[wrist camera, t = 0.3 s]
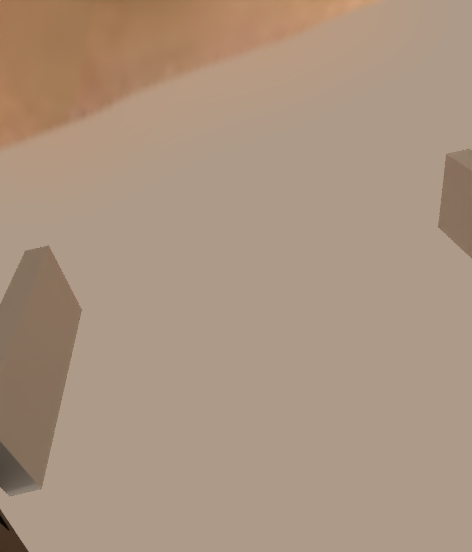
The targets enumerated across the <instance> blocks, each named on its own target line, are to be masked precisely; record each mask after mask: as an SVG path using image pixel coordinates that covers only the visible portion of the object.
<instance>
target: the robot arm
mask: <svg viewBox="0 0 472 552" xmlns="http://www.w3.org/2000/svg"><path fill="white" fill-rule="evenodd" d="M438 227H439V228H440V229H441V230H442V231H443V232H444V233H445V234H446V235H447V236H448V237H449V238H451V239H452V240H453V241H454V242H455V243H456V244H457V245H458V246H459V247H460V248H461V249H462V250H463V251H464V252H466V253H467V254H468V255H469V256H470V257H471V258H472V150H470V149H466V150H462V151H458V152H453V153H449V154H446V161H445V171H444V180H443V188H442V198H441V207H440V216H439V225H438ZM81 311H82V309H81V307H80V305H79V303H78V301H77V299H76V298H75V296H74V294H73V292H72V290H71V288H70V286H69V284H68V282H67V280H66V278H65V276H64V274H63V272H62V270H61V268H60V266H59V265H58V263H57V261H56V259H55V257H54V255H53V253H52V251H51V249H50V247H49V246H45V247H40V248H36V249H32V250H28V251H25V253H24V255H23V257H22V259H21V262H20V263H19V265H18V268H17V270H16V272H15V274H14V276H13V278H12V281H11V283H10V285H9V287H8V289H7V291H6V293H5V295H4V298H3V300H2V302H1V304H0V487H1V488H2V489H3V490H4V491H5V492H6V493H7V494H8V495H9V496H14V495H17V494H22V493H26V492H30V491H35V490H38V489H41V488H42V485H43V480H44V476H45V471H46V467H47V462H48V458H49V453H50V449H51V445H52V439H53V436H54V431H55V427H56V422H57V418H58V413H59V409H60V404H61V400H62V395H63V391H64V386H65V382H66V378H67V373H68V369H69V364H70V360H71V356H72V350H73V347H74V342H75V338H76V333H77V329H78V324H79V320H80V315H81ZM0 552H28V550H27V549H26V547H25V546H24V544H23V543H22V541H21V540H20V538H19V537H18V535H17V534H16V533H15V531H14V529H13V528H12V526H11V525H10V523H9V522H8V520H7V519H6V517H5V516H4V514H3V513H2V511H1V510H0Z"/></svg>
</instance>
